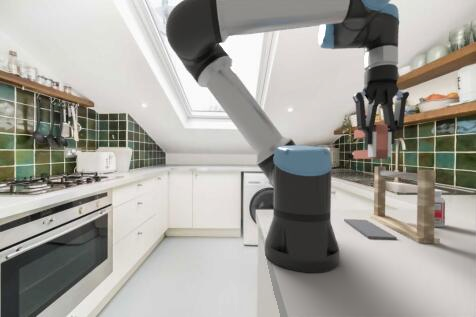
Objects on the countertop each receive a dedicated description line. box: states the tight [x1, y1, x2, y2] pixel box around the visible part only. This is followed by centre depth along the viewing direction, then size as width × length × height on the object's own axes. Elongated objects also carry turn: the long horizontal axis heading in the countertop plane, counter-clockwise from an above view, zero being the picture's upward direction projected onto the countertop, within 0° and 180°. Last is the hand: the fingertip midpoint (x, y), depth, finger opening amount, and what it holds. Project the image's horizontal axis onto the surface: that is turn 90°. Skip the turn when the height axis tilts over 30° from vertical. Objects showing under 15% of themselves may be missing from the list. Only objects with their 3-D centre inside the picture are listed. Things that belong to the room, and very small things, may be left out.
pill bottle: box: [434, 189, 446, 228], centre depth 70 cm, size 6×6×11 cm
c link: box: [353, 124, 388, 160], centre depth 65 cm, size 13×3×9 cm, turn 175°
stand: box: [369, 166, 441, 245], centre depth 66 cm, size 5×23×18 cm, turn 175°
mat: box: [343, 218, 397, 241], centre depth 65 cm, size 7×16×1 cm, turn 175°
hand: (379, 156), depth 59 cm, fingers closed on c link, 3 cm apart
